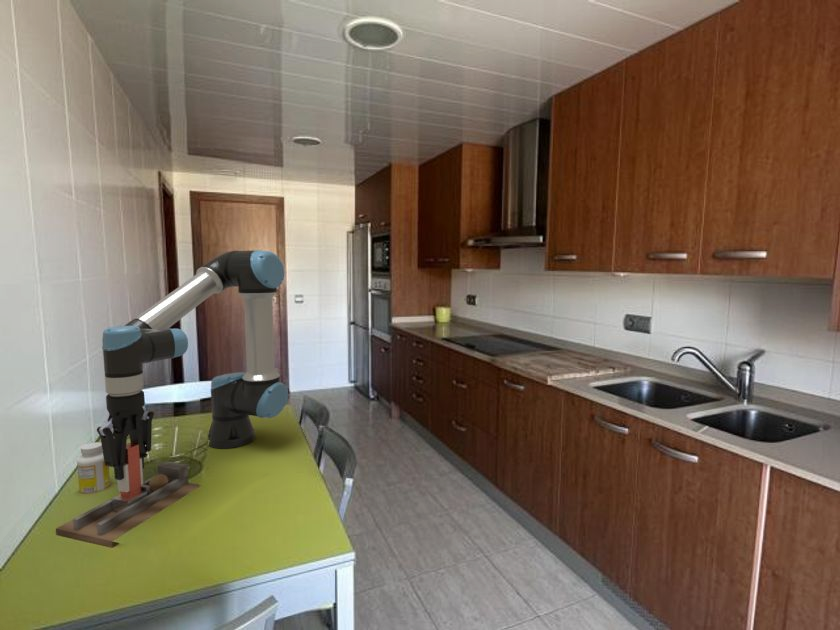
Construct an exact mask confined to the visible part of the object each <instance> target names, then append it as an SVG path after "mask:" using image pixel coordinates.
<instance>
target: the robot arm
mask: <svg viewBox="0 0 840 630" xmlns="http://www.w3.org/2000/svg"><path fill="white" fill-rule="evenodd" d="M284 280H285V269H284V265H283V262H282V260H281V259H280V258H279V256H278V255H277V254H276V253H274V252H272V251H270V250H261V249H259V250H231V251H226V252H224V253H221V254H220V255H218V256H216V257H214V258H213V259H211V260H209V261H208V262H206V263H204V264H203V265H202V266H201V267H199V268H198V269H196V273H195V274H194V276H192V277H191V278H190V279H188V280H187V281H185V282H183V283H182V284H181V285H180V286H178V287H177V288H175V289H174V290H172V291H171V292H169V293H168V294H167V295H166V296H164V297H163V298H161V299H160V300H158V301H157V302H156V303H154V304H153V305H151V306H150V307H148V308H147V309H146V310H145V311H143V312H142V313H140V314H138V315H137V316H136V317H135V318H133V319H131V321H129V322H128V323H126V324H125V325H118V326H110V327H106V329H104V330H103V332H102V341H101V342H102V346H101V349H102V356H103V357H102V358H103V367H104V368H103V369H104V370H103V371H104V384H105V393H106V394H107V395H105V396H106V397H105V402H106V410H107V412H108V418H107V422H106V423H105V424H104V425H103V426H98V427H96V432H97V434H98V435H99V437H100V443H101V444H102V451H103V456H104V463H105V466H109V468H113V471H114V472H113V474H114V479H115V480H117V481H116V482H117V491H118V492H120V491H122V492H129V491H130V488H129V471H128V465H127V464H125V455H126V444H128V443H127V441H128V437H129V440H130V441H129V443H133V444H139V457H140V474H141V485H142V484H143V482H144V473H143V471H144V468H145V458H147V457H148V455H149V454H148V453H149V452H151V450H152V432H153V431H152V429H153V428H152V427H153V424H152V422H153V418H154V416H155V412H154V411H149V410H145V409H144V406H145V391H143V389H144V388H145V386H144V383H145V382H144V370H143V369H144V366H143V365H144V364H147V363H153V362H159V361H163V360H169V359H171V360H172V359H174V358H177V357H182V356H184V354H186V352H187V351H188V347H189V339H188V336H187V334H186V333H185V331H184V330H183V329H180V328H171V327H172V326H174V325H175V324H176V323H178V322H179V321H180V320H181V319H182V318H184V317H185V316H186V315H188V314H189V313H190V312H192V311H193V310H194V309H196V308H197V307H198V306H199V305H200V304H202V303H203V302H204V301H205V300H208V298H209V297H211V296H212V295H213V294H220V293H221V292H223V291H224V290H226V289H228V288H232V287H233V288H234V287H237V288H238V294H239V295H240V296H241V297H242V299H243V306H244V310H243V311H244V330H245V331H244V333H245V352H246V353H245V355H246V356H245V357H246V358H245V359H246V372H244V371H242V372H241V371H239V372H238V371H237V372H231V373H224V374H221V375H217V376H214V377H213V378H212V379H211V382H210V398H211V399H210V400H211V419H212V420H211V425H210V427H209V431H208V433H207V438H206V440H210V442H209V445H208V446H209V447H211V448H214V449H232V448H238V447H242V446H246V445H247V444H250V443H252V442H253V441H254V440H255V438H256V431H255V428H254V427H253V423H252V421H251V418H250V416H253V417H257V418H261V419H262V418H269V419H270V418H274V417H275V418H276V417H277V416H278V415H279V414H280V413H281V412H282V411H283V410H284V407H285V406H286V404H287V402H288V399H289V390H288V387H287V385H286V384H284V383H283V382H281V375H280V373H279V372H278V371H277V370H276V369H275V365H276V364H275V345H274V344H275V343H274V342H275V340H274V338H275V337H274V336H275V334H274V315H273V313H274V311H273V298H274V297H275V296H276V295H277V294H278V287H280V286H281V285H282V284H283V281H284Z"/></svg>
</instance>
